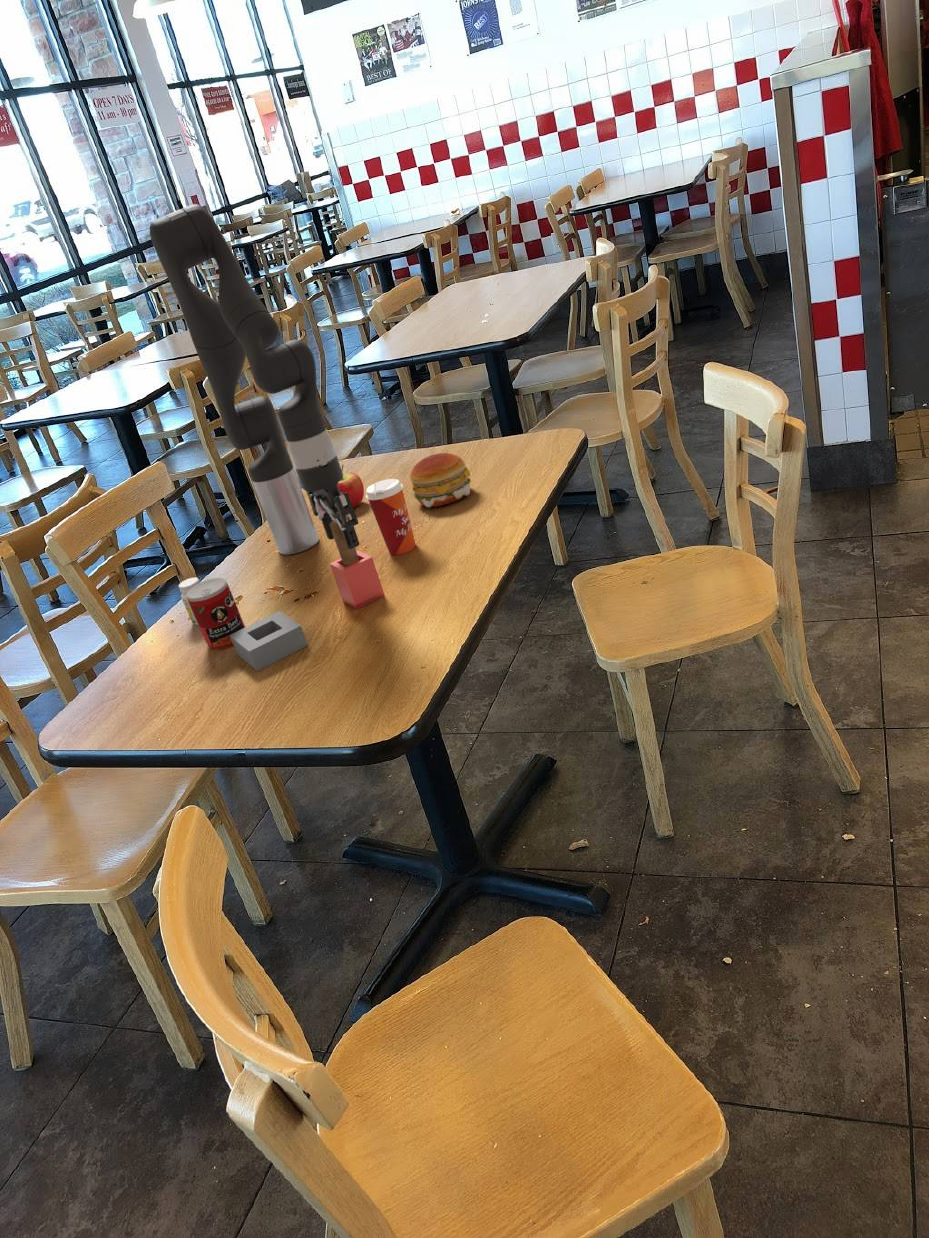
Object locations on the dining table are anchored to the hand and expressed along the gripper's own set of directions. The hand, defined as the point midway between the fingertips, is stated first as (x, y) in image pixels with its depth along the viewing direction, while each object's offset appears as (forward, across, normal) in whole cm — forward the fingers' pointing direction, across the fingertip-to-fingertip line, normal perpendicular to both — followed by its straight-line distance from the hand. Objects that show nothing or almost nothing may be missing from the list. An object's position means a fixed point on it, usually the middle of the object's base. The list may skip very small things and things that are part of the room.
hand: (343, 542), depth 180 cm
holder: (+12, +2, -20) cm, 23 cm away
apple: (+12, -49, +22) cm, 55 cm away
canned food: (+12, -11, -24) cm, 29 cm away
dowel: (+11, 0, 0) cm, 11 cm away
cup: (+12, 0, 0) cm, 12 cm away
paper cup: (+12, -13, +16) cm, 24 cm away
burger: (+12, -28, +36) cm, 47 cm away
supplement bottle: (+12, -25, -24) cm, 37 cm away
